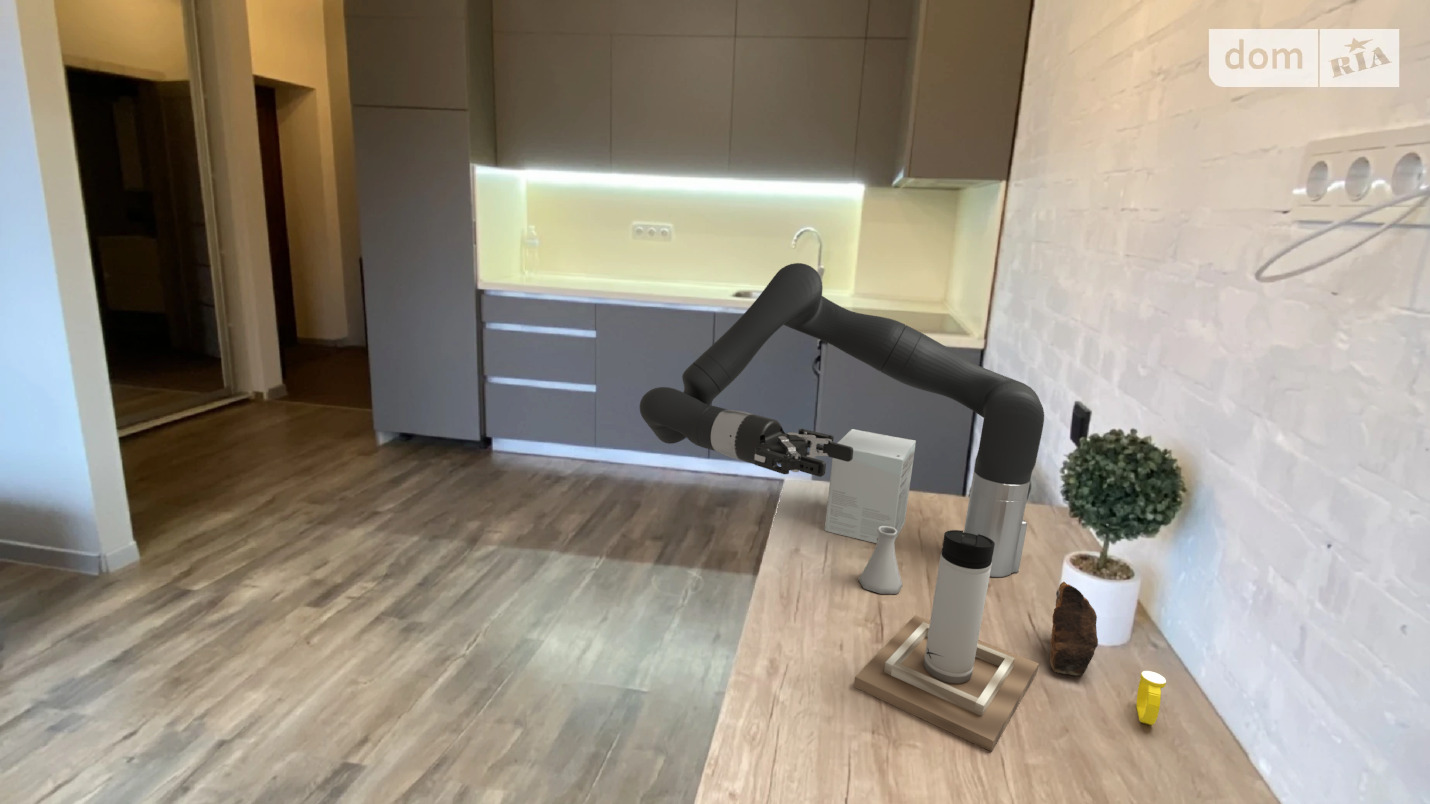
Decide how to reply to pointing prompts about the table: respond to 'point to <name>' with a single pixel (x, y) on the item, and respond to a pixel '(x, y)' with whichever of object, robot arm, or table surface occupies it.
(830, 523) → the supplement box
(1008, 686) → the wooden square tray
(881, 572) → the flask
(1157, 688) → the watch
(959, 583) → the travel mug
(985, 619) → the table surface
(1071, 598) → the decorative rock
